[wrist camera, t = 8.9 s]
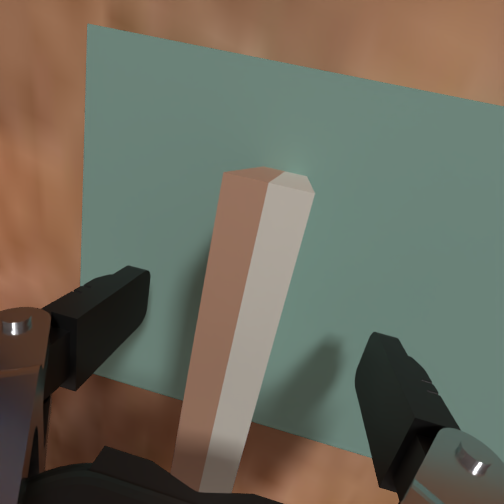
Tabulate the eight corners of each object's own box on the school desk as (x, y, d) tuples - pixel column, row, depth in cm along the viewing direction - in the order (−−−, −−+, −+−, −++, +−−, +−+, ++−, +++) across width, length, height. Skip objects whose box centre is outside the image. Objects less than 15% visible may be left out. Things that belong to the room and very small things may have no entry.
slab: (307, 176, 11) (314, 193, 5) (258, 357, 13) (227, 505, 7) (263, 166, 11) (223, 172, 5) (224, 347, 13) (168, 486, 8)
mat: (762, 164, 9) (794, 164, 8) (519, 491, 14) (528, 505, 13) (98, 30, 11) (87, 23, 10) (86, 361, 16) (77, 369, 15)
